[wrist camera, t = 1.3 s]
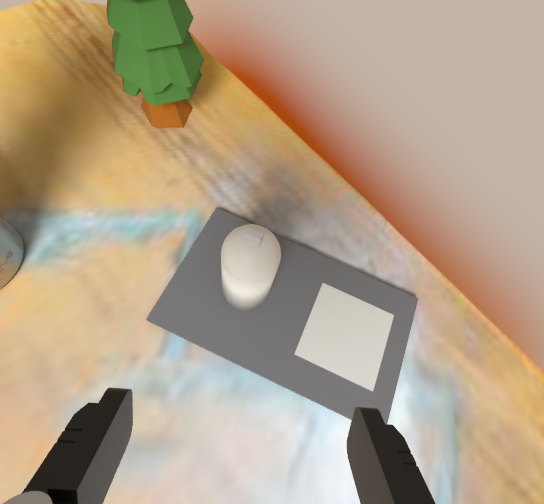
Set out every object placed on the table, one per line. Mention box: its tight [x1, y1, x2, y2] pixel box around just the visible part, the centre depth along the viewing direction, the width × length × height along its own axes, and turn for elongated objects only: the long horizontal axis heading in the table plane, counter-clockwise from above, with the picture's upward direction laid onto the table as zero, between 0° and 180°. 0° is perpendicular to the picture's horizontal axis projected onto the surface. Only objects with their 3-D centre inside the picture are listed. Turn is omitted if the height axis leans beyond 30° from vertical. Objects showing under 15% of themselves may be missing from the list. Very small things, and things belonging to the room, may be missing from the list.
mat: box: [146, 208, 418, 425], centre depth 34 cm, size 24×14×1 cm, turn 66°
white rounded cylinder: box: [221, 224, 281, 310], centre depth 29 cm, size 5×5×12 cm
